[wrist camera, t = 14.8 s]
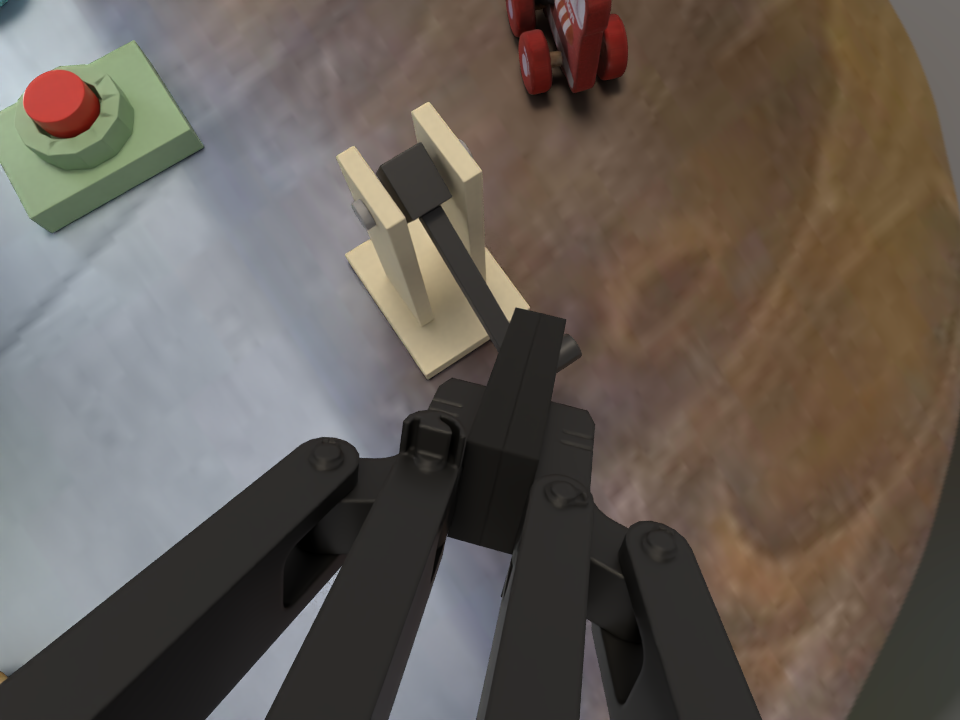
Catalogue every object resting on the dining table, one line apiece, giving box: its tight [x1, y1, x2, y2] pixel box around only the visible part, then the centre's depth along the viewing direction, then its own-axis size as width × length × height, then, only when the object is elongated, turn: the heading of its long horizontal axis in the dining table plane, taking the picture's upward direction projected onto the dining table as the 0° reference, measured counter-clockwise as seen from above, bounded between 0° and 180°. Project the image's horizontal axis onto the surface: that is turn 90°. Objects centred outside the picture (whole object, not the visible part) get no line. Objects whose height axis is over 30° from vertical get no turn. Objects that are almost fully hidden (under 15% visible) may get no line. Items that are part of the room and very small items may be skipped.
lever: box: [376, 142, 582, 373], centre depth 31 cm, size 13×6×2 cm, turn 34°
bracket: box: [336, 102, 530, 379], centre depth 35 cm, size 10×8×15 cm
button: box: [23, 70, 100, 138], centre depth 42 cm, size 4×4×2 cm
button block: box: [0, 40, 204, 233], centre depth 44 cm, size 12×9×4 cm
